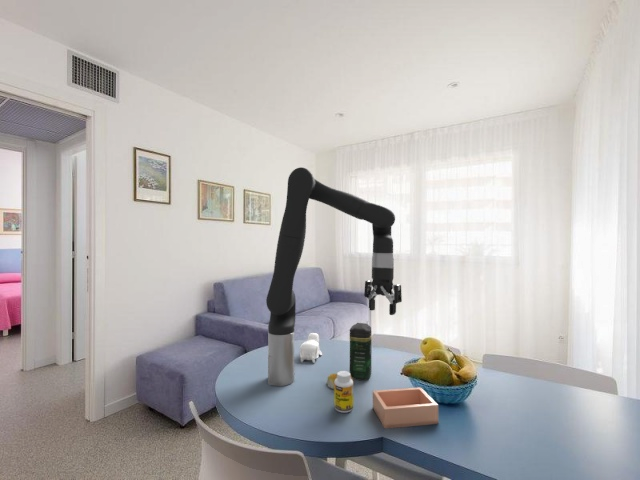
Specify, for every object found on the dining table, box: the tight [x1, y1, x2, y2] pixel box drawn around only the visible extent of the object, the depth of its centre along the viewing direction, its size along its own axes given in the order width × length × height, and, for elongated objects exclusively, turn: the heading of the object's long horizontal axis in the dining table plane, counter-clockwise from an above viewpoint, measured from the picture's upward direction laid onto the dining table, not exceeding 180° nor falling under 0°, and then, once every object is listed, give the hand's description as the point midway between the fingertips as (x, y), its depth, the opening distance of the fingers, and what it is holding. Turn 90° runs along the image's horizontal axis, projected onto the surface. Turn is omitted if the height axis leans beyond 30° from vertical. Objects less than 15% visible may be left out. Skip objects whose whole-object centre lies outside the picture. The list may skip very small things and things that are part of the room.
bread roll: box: [326, 373, 355, 390], centre depth 104 cm, size 8×9×4 cm
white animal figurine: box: [299, 332, 323, 364], centre depth 129 cm, size 9×8×15 cm
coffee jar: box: [349, 322, 373, 381], centre depth 111 cm, size 10×8×19 cm
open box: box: [372, 387, 439, 429], centre depth 84 cm, size 15×10×5 cm, turn 98°
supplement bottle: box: [333, 370, 354, 414], centre depth 88 cm, size 6×6×10 cm
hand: (381, 312), depth 105 cm, fingers open, 8 cm apart
